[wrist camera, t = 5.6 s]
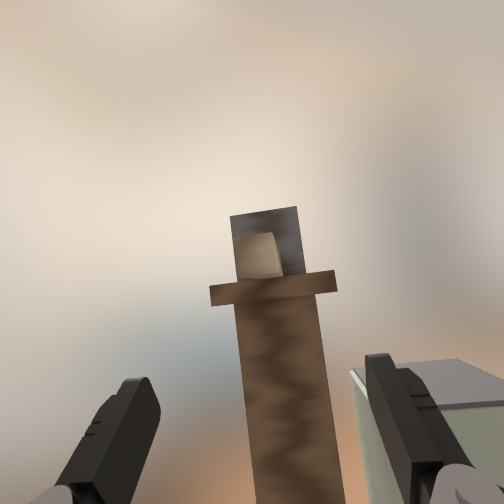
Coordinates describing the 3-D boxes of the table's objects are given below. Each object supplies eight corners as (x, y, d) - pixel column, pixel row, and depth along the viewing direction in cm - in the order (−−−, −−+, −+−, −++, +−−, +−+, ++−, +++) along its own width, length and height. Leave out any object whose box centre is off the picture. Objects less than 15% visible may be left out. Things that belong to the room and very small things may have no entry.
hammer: (200, 281, 18) (189, 172, 19) (244, 282, 35) (237, 224, 36) (316, 266, 18) (299, 152, 18) (304, 275, 35) (295, 215, 35)
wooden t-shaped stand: (248, 662, 26) (209, 285, 30) (259, 573, 34) (226, 285, 37) (395, 665, 24) (334, 269, 28) (370, 572, 32) (324, 273, 36)
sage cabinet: (431, 740, 20) (377, 410, 23) (380, 571, 32) (348, 367, 35) (634, 749, 19) (553, 397, 21) (502, 570, 31) (460, 357, 33)
